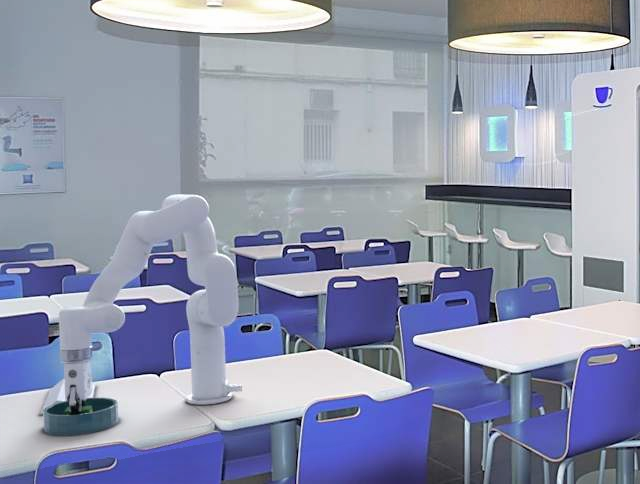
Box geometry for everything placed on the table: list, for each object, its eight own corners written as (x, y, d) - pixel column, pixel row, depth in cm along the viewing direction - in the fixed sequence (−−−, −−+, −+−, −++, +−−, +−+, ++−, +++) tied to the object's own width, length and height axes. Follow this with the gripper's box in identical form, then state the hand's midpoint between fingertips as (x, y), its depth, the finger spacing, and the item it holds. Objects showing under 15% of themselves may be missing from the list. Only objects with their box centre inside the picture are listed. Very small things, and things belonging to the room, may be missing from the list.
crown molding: (90, 409, 244) (89, 396, 244) (41, 415, 240) (40, 402, 239) (93, 386, 271) (93, 374, 271) (50, 391, 267) (49, 379, 266)
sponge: (92, 422, 229) (92, 405, 229) (89, 426, 225) (88, 409, 225) (68, 424, 228) (67, 407, 228) (64, 428, 224) (63, 411, 224)
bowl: (122, 413, 239) (122, 395, 239) (111, 432, 222) (110, 412, 222) (53, 418, 236) (52, 400, 235) (36, 438, 218) (35, 418, 218)
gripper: (85, 360, 219) (87, 433, 219) (98, 347, 235) (100, 415, 236) (52, 362, 217) (55, 435, 218) (68, 349, 233) (70, 417, 234)
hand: (78, 424), depth 227 cm, fingers closed on sponge, 4 cm apart
